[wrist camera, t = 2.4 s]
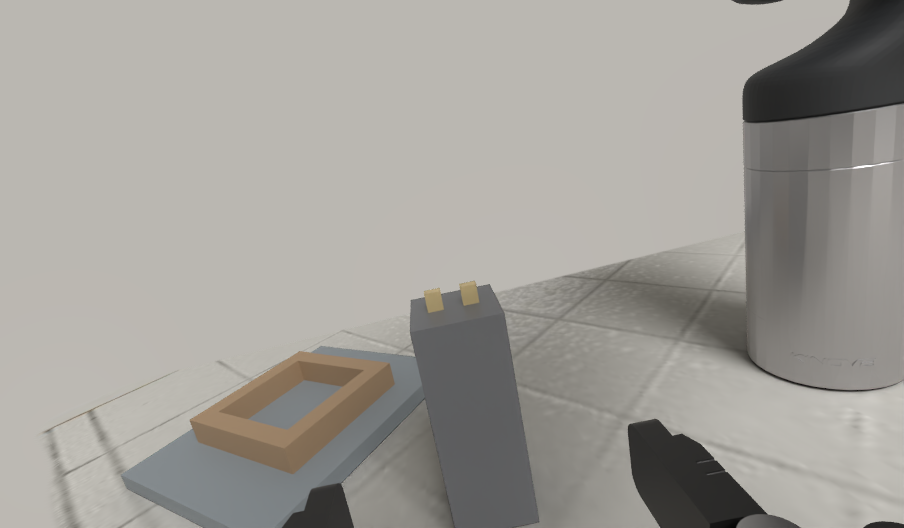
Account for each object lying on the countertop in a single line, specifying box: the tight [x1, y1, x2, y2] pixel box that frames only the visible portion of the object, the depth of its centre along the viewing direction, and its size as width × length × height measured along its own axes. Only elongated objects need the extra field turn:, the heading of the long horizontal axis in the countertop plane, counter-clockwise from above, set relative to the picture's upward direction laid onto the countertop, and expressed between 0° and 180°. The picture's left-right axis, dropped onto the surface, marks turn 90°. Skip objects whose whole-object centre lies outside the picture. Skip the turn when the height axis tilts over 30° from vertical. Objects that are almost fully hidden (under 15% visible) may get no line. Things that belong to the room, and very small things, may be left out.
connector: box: [410, 281, 539, 528], centre depth 25 cm, size 4×4×13 cm
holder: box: [121, 346, 425, 528], centre depth 38 cm, size 20×16×3 cm
